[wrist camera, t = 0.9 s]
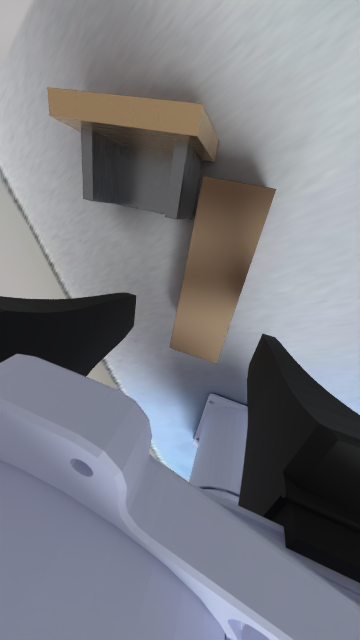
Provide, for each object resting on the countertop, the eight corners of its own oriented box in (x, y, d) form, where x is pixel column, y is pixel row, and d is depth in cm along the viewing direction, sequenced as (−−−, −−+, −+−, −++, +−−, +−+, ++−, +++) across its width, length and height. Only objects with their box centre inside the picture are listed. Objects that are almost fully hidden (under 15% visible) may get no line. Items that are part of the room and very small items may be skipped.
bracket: (202, 221, 17) (182, 222, 12) (105, 201, 19) (56, 194, 14) (219, 141, 15) (202, 103, 10) (106, 125, 16) (47, 87, 12)
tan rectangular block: (223, 334, 21) (216, 363, 17) (186, 322, 22) (169, 347, 18) (269, 197, 15) (276, 189, 11) (216, 187, 16) (203, 176, 12)
